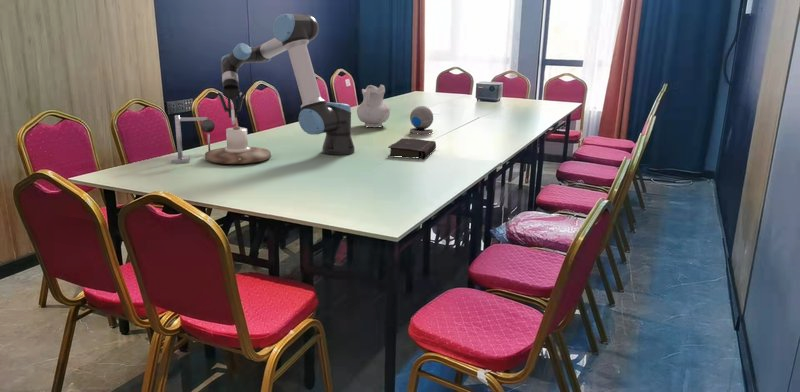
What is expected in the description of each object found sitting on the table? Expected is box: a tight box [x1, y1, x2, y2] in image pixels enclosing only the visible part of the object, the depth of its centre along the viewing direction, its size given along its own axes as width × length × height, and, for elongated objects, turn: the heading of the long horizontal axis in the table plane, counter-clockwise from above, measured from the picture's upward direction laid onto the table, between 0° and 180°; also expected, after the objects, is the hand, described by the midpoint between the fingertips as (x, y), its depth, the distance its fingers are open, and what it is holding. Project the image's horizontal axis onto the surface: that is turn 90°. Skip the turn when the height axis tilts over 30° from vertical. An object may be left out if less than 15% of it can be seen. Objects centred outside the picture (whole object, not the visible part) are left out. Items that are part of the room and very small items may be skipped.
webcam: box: [409, 105, 434, 135], centre depth 335 cm, size 13×13×15 cm
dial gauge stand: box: [171, 114, 216, 164], centre depth 255 cm, size 18×7×20 cm, turn 107°
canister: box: [224, 125, 251, 153], centre depth 265 cm, size 11×11×11 cm
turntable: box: [204, 146, 272, 165], centre depth 262 cm, size 28×28×2 cm
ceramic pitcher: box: [356, 84, 391, 127], centre depth 348 cm, size 22×20×25 cm
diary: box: [387, 137, 437, 159], centre depth 284 cm, size 19×25×5 cm
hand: (233, 122), depth 280 cm, fingers closed
